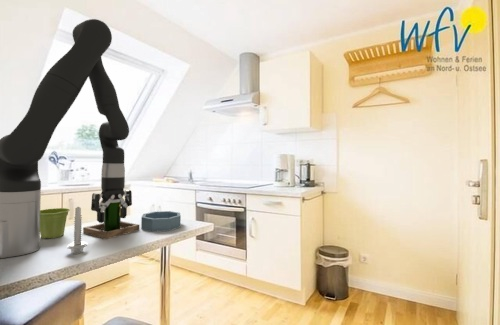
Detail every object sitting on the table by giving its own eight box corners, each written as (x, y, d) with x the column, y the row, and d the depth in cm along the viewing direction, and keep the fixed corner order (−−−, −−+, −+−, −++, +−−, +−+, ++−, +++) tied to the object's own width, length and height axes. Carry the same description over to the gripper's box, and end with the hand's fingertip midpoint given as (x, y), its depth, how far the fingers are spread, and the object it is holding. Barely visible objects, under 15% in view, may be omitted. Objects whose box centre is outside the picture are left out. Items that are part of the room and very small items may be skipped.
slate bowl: (160, 233, 93) (160, 220, 93) (133, 227, 100) (134, 215, 100) (187, 224, 106) (187, 213, 106) (162, 220, 113) (162, 210, 113)
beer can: (106, 234, 90) (106, 200, 90) (101, 231, 94) (102, 198, 94) (122, 231, 94) (123, 199, 94) (117, 228, 98) (118, 197, 97)
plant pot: (41, 242, 80) (41, 214, 80) (29, 237, 85) (29, 211, 85) (74, 235, 88) (75, 210, 88) (61, 230, 93) (62, 207, 93)
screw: (90, 249, 75) (80, 255, 70) (73, 249, 75) (62, 255, 70) (91, 205, 75) (81, 208, 70) (74, 204, 75) (63, 208, 70)
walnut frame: (106, 239, 85) (106, 233, 85) (83, 232, 91) (83, 227, 91) (139, 230, 96) (139, 224, 96) (117, 225, 102) (117, 220, 102)
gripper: (100, 177, 85) (99, 225, 86) (136, 175, 98) (136, 217, 98) (87, 176, 89) (86, 222, 89) (124, 174, 102) (123, 215, 102)
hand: (112, 220), depth 94 cm, fingers open, 8 cm apart
